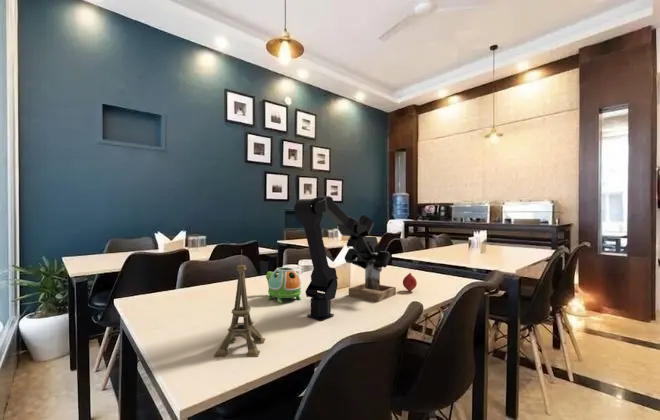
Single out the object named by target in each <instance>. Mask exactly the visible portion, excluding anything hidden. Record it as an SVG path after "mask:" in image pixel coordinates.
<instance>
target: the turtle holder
mask: <svg viewBox="0 0 660 420" xmlns="http://www.w3.org/2000/svg"><path fill="white" fill-rule="evenodd" d="M265 278H266V281H267V284H268V285H267V286H268V290H267V291H268V294H269V296H268V297H267V299H268V300H272V299H273V298H276V300H277V303H279V304H282V303H283V300H282V299H292V298H295V299H296V300H298V301H301V300H302V298H301V296H300V295H301V293H302V291H301V287H302V286H301V284H302V282H301V281H302V280H301V278H300V275H299V274H298V273H297V271H296V270H295V269H294V268H292V267H288V266H287V267H286V266H285V267H284V266H283V267H277V268H276V269H275V270H274V271H271V270H270V271H267V272H266V275H265Z"/></svg>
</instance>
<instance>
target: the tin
mask: <svg viewBox="0 0 660 420" xmlns="http://www.w3.org/2000/svg"><path fill="white" fill-rule="evenodd" d="M377 253H378V252H373V254H377ZM375 262H376V261H375V260H371V261H369V262H366V261H365V269H364V271H365V272H364V283H365V288H367V289H379V288H380V285H381V272H380V271H378V270H377V269H376V268H375V267H374V265H375Z"/></svg>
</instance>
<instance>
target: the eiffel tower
mask: <svg viewBox="0 0 660 420" xmlns="http://www.w3.org/2000/svg"><path fill="white" fill-rule="evenodd" d="M242 253H243V249H241V255H240V264H239V265H237V266H236V267H237V268H236V269H235V270H236V271H237V272H238V275H237V283H236V284H237V285H236V293H235V301H234V307H233V309H232V310H231V314H232V320H231V322H230V326H229V328H228V329H227V331H228V333H227V334H226V336H225V338H224V339H223V340H222V343H221V344H220V346H219V347H218V350H216V352H215V353H214V355H213V356H212V357H213V358H226V356H227V354H228V353H229V349H228V348H229V346H230V344H232V345H233V344H235V342H236V341H237V338H238V337H241V338H243V339H244V340H245V342H246V347H247V353H246V355H245V356H246V358H258V357H259V355H260V353H261V350H259V349H258V347H257V345H256V344H264V343H265V341H266V338H265V337H263V336H262V334H261V333H260V332H259V330H258V329H257V328H256V326H255V325H254V321H252V318H251V314H250V312H251V309H252V308H251V305H249V302H248V294H247V286H246V276H245V271H246V270H247V269H248V268H247V267H246V264H243V254H242ZM240 318H243V322H239V319H240Z"/></svg>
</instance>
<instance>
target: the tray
mask: <svg viewBox="0 0 660 420" xmlns="http://www.w3.org/2000/svg"><path fill="white" fill-rule="evenodd" d="M396 295H397V288H396V286H391V285H383V284H380V288H379V289H367V288H365V282H364V283H361V284H358V285H355V286H351V287H349V288H348V296H350V297H353V298H357V299H362V300H368V301H373V302H377V303H380V302H382V301H384V300H386V299H389V298H391V297H393V296H396Z"/></svg>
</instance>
